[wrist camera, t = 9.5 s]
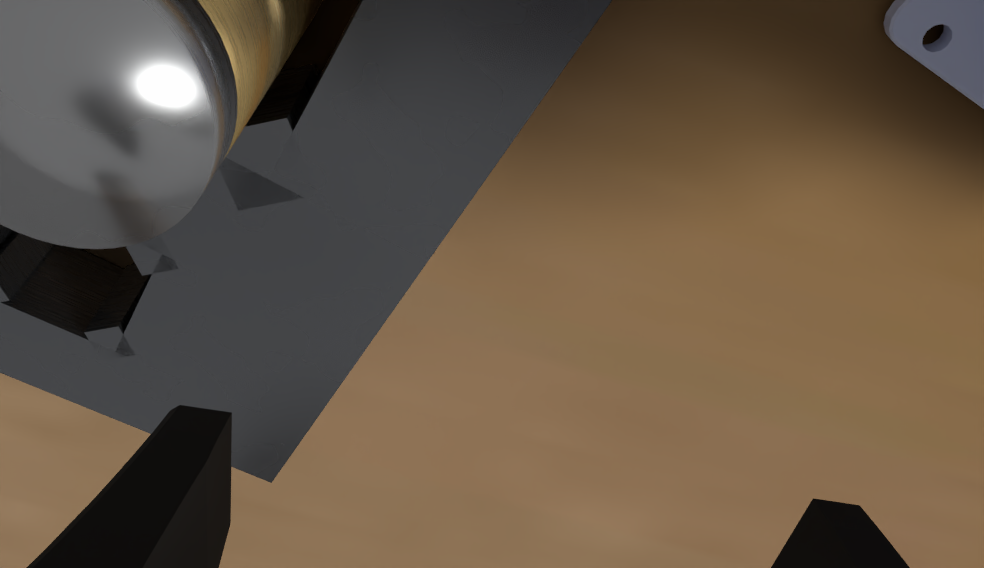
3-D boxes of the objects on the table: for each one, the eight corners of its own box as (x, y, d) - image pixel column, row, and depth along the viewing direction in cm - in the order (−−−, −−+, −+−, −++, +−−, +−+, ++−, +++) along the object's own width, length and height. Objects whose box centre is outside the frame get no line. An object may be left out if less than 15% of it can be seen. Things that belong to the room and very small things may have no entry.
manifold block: (608, -56, 16) (621, -13, 14) (293, 409, 23) (271, 482, 21) (-74, -522, 12) (-191, -558, 10) (-197, 196, 20) (-279, 259, 17)
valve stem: (372, -12, 16) (281, 164, 11) (213, 89, 18) (60, 293, 12) (230, -221, 14) (30, -141, 9) (66, -89, 16) (-201, 53, 10)
